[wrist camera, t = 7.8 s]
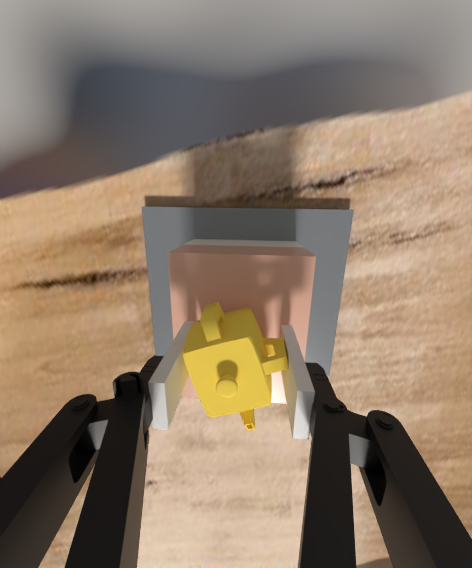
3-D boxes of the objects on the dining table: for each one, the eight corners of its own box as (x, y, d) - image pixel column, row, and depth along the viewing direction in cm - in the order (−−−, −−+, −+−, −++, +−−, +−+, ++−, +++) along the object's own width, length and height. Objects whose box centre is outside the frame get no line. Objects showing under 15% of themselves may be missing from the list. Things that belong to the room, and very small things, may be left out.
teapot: (294, 376, 19) (311, 437, 14) (221, 393, 19) (212, 456, 14) (265, 277, 17) (273, 306, 12) (185, 300, 17) (159, 337, 12)
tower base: (159, 361, 30) (122, 422, 22) (146, 206, 25) (90, 205, 16) (326, 369, 29) (357, 437, 21) (349, 209, 24) (403, 210, 15)
